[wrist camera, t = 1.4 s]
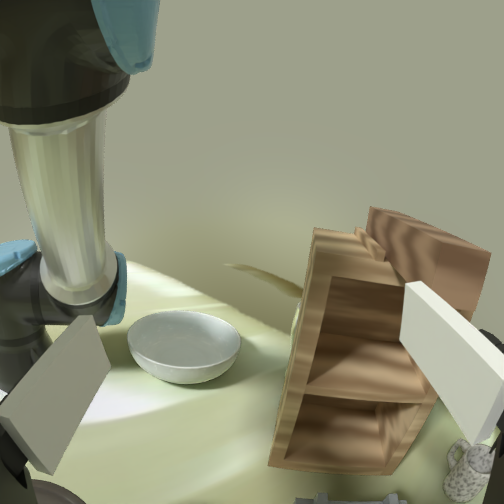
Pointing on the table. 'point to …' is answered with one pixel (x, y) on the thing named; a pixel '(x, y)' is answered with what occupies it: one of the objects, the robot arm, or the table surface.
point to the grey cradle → (321, 500)
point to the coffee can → (54, 493)
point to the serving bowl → (183, 346)
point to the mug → (467, 471)
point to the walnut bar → (431, 256)
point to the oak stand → (350, 365)
